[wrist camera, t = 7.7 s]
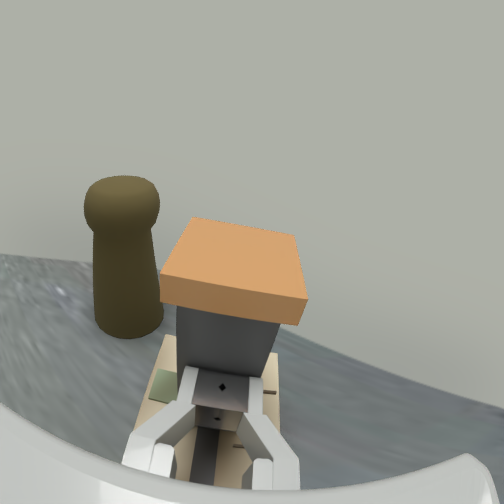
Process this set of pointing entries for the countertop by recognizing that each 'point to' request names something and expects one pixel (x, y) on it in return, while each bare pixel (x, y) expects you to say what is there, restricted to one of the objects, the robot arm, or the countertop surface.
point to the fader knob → (231, 295)
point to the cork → (124, 255)
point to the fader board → (200, 438)
